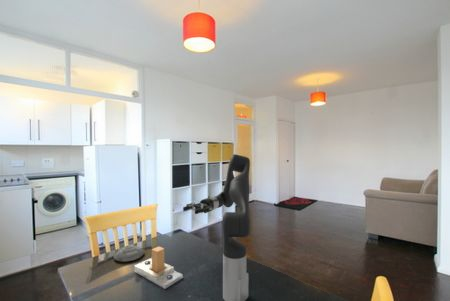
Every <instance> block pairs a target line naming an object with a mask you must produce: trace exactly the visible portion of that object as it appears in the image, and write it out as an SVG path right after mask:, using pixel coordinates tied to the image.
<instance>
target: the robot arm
mask: <svg viewBox="0 0 450 301" xmlns="http://www.w3.org/2000/svg"><path fill="white" fill-rule="evenodd" d="M228 162H229V163H228V167H227V173H226V180H225V184H224V186H223V190H222V191H220V193H219V194H217V195H216V196H215V195H214V196H210V197H206V198H203V199H201V200H200V201H199V202H196V203H195V202H192V203H191V202H190V203H187V204H186V205H185V206H183V208H182V210H183V212H186V211H194V214H195V215H198V214H203V213H204V214H207V213H210V212H213V211H215V210H217V209H219V208H221V207H223V206H224V207H226V208H231V207H232V206H233V205H234V204H235V205H236V206H237V208H238V209H239V211H240V212H239V211H238V212H234V211H227V212H224V214H223V216H222V221H221V223H222V225H221V227H222V245H223V246H222V299H223V300H224V301H246V300H247V299H248V298H249V272H247V247H246V245H245V244H244V243H242V242H240V241H238V240H237V239H234V238H247V237H248V236H249V235H250V234H251V233H250V232H251V216H250V215H251V214H250V177H249V176H250V166H251V160H250V158H249V157H247V156H244V155H239V154H231V157H230V160H229V161H228ZM234 172H236V173H239V174H238V175H236V176H235V175H234Z"/></svg>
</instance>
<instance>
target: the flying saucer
mask: <svg viewBox="0 0 450 301" xmlns="http://www.w3.org/2000/svg"><path fill="white" fill-rule="evenodd" d="M143 255H145V250H144V249H143V248H142V247H141V246H137V245H128V246H124V247H122V248H120V249H119V250H117V251H116V252H115V253H114V255H113V259H114V261H117V262H131V261H135V260H139V259H140V258H141V257H143Z"/></svg>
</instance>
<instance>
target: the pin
mask: <svg viewBox="0 0 450 301" xmlns="http://www.w3.org/2000/svg"><path fill="white" fill-rule="evenodd" d="M151 258H152V271H153V272H155V273H158V272H160V271H162V270H164V263H165V248H164V247H162V246H156V247H153V248H152V249H151Z"/></svg>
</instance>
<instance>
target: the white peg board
mask: <svg viewBox="0 0 450 301" xmlns="http://www.w3.org/2000/svg"><path fill="white" fill-rule="evenodd" d="M174 267H175V266H172V265H170V264H168V263H165V262H164V270H162V271H160V272H158V273H155V272H153V271H152V257H150V258H147V259H146V260H144V261H140V262H139V263H137V264H134V273H136V274H138V275H139V276H141V277H143V278H145V279H147V280H148V281H150V282H152V283H153V284H155V285H157V286H159V287H160V288H163V289H164V290H166V289H167V288H169V287H171V286H172V285H173V284H175V283H177V282H179V281H180V280H182V279H183V277H184V276H183V273H181V272H178V271H176V270H175V269H174Z"/></svg>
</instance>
